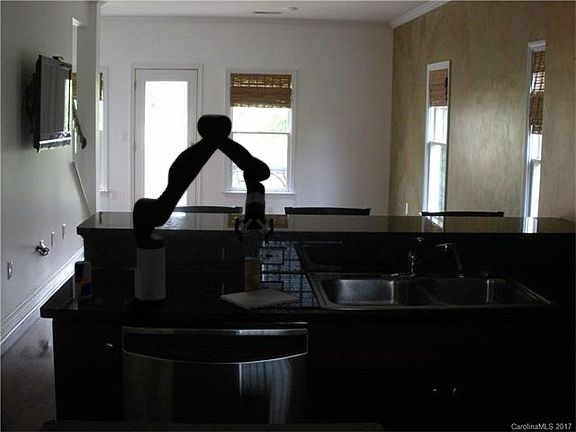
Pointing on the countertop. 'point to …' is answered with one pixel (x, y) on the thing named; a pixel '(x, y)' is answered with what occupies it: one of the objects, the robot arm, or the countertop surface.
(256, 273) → the brown tall block
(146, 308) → the countertop surface
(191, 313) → the countertop surface
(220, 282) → the countertop surface
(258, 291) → the cream board
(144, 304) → the countertop surface
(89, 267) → the energy drink
